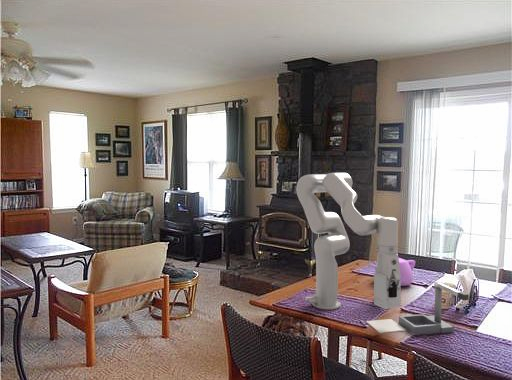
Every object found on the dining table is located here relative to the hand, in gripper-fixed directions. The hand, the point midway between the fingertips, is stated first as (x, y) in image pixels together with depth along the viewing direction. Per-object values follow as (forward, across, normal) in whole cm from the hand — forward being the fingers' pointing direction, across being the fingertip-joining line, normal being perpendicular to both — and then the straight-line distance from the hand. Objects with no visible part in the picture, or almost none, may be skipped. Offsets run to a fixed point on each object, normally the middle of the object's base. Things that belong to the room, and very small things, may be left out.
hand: (386, 293), depth 158 cm
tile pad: (+13, 0, 0) cm, 13 cm away
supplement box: (+5, 0, 0) cm, 5 cm away
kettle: (+13, +52, -33) cm, 63 cm away
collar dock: (+13, -4, -14) cm, 20 cm away
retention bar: (-2, -11, -20) cm, 23 cm away
